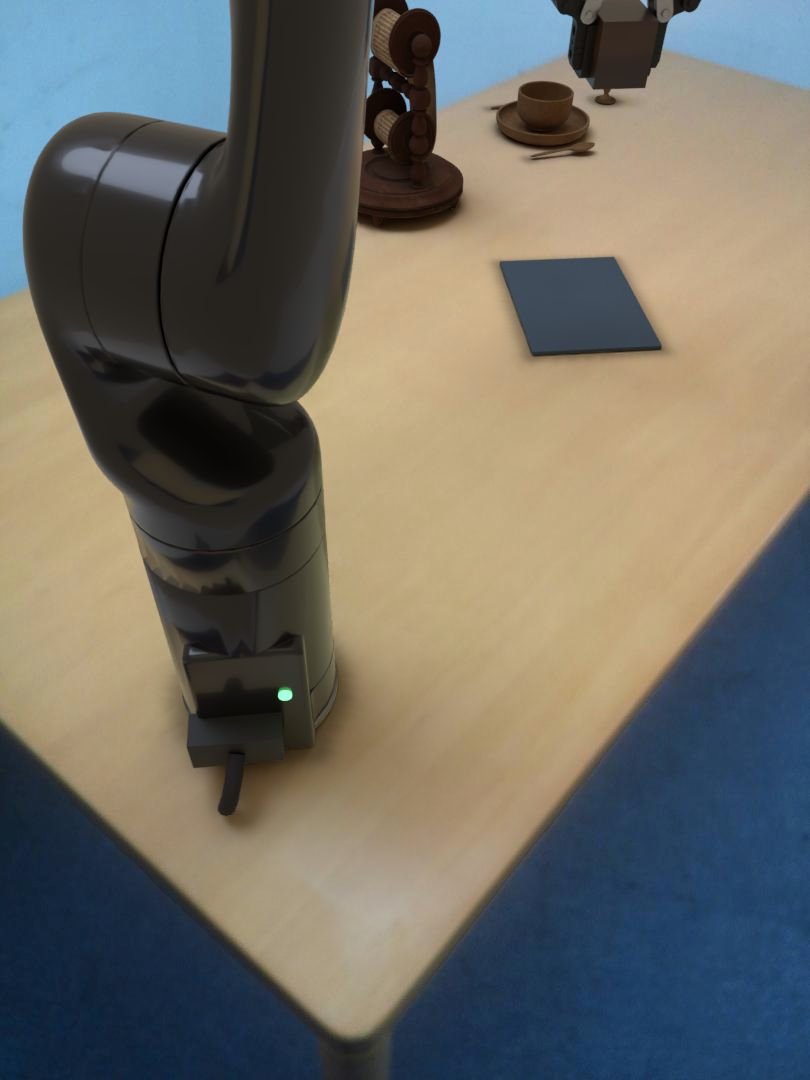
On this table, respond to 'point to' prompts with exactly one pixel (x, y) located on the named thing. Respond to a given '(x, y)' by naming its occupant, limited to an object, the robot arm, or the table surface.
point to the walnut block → (622, 45)
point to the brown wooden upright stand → (404, 119)
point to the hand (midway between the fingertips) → (611, 72)
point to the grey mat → (577, 306)
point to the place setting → (547, 116)
